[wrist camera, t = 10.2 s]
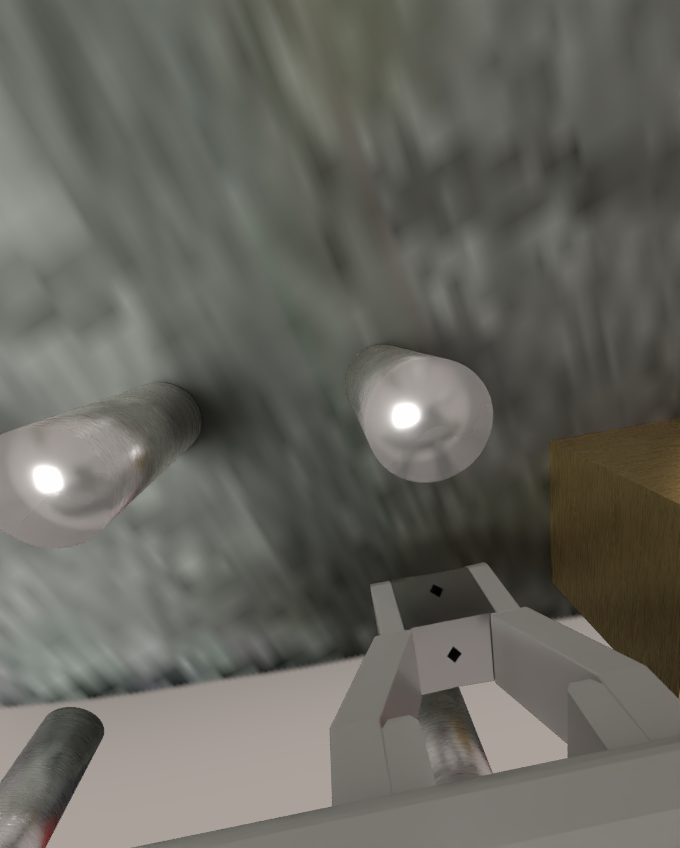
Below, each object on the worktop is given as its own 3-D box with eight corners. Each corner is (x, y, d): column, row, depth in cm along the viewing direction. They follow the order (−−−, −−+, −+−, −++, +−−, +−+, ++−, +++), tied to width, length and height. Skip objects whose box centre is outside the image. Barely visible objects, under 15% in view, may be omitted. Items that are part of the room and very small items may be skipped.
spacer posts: (412, 338, 10) (489, 347, 5) (449, 681, 13) (517, 860, 9) (-114, 428, 10) (-474, 513, 5) (54, 756, 13) (-83, 980, 8)
